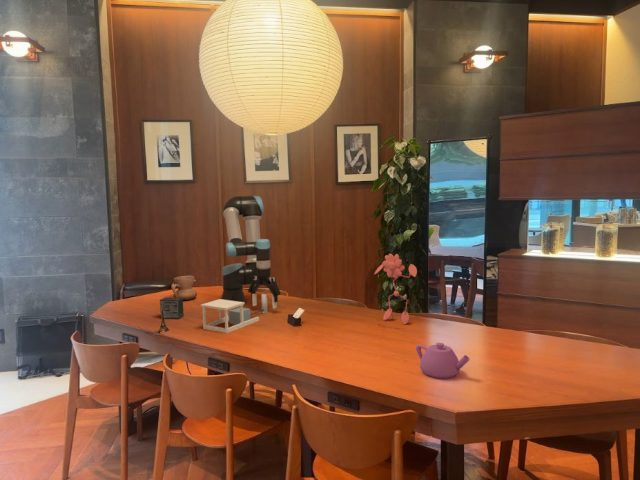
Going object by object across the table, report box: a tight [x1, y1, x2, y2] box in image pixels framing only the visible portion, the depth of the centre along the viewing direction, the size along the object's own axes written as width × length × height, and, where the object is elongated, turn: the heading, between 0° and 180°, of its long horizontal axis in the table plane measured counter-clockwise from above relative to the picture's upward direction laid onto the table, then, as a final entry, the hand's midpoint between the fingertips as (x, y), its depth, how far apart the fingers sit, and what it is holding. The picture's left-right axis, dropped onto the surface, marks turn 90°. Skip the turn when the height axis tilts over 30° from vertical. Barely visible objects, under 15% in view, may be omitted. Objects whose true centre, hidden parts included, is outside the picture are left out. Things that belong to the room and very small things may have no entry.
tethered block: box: [228, 293, 269, 325], centre depth 241 cm, size 26×7×10 cm, turn 149°
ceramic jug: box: [171, 275, 198, 302], centre depth 291 cm, size 18×14×14 cm
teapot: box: [415, 342, 471, 379], centre depth 165 cm, size 14×20×11 cm
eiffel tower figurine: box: [144, 308, 171, 336], centre depth 221 cm, size 15×10×13 cm
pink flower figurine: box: [373, 253, 418, 330], centre depth 227 cm, size 15×26×35 cm, turn 45°
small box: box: [159, 297, 184, 320], centre depth 248 cm, size 11×6×10 cm, turn 84°
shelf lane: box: [200, 298, 260, 334], centre depth 228 cm, size 24×16×13 cm, turn 149°
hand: (264, 306), depth 251 cm, fingers open, 13 cm apart
